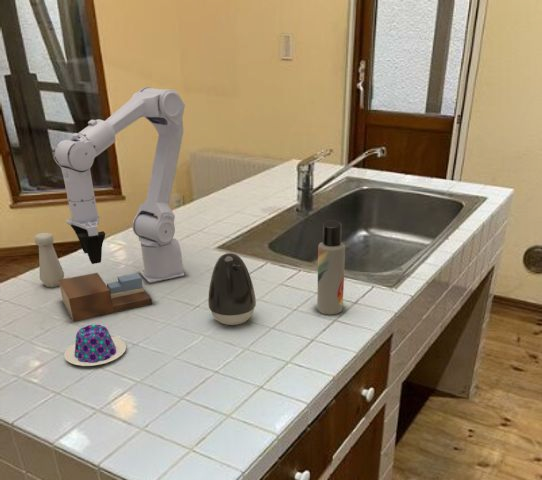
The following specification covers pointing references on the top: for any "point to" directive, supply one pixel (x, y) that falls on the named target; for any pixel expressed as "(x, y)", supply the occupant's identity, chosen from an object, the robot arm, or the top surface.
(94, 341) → the patterned hat
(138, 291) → the blue stepped block
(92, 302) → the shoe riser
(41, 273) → the salt shaker
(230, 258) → the dark egg shaped container
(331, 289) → the lotion bottle
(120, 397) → the top surface
